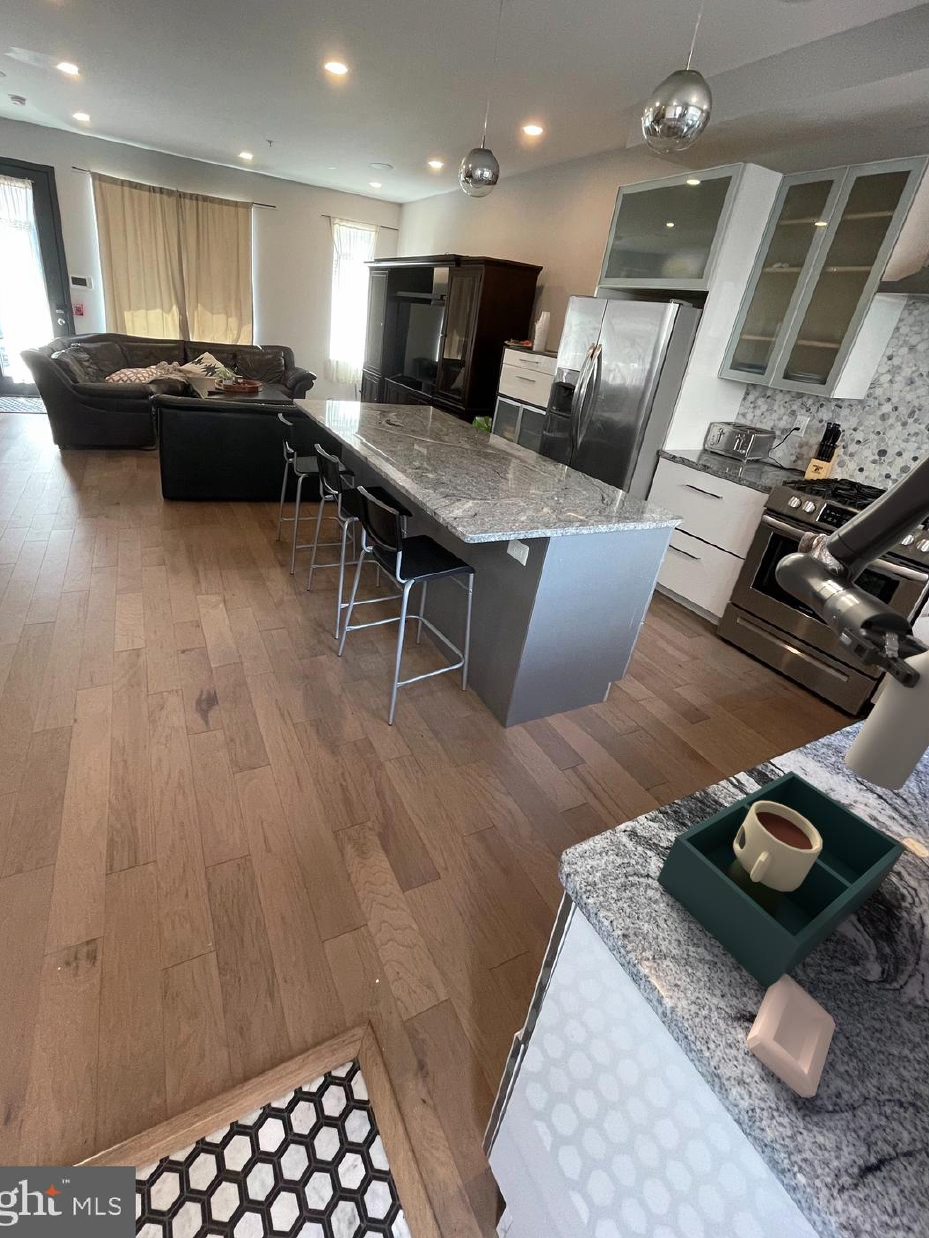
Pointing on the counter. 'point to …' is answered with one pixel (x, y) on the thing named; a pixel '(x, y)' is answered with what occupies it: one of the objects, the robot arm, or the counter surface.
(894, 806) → the counter surface
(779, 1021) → the soap bar
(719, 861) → the divided storage tray
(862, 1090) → the counter surface
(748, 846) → the character mug
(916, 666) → the bottle
